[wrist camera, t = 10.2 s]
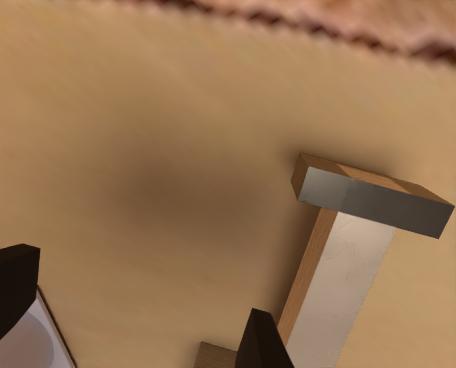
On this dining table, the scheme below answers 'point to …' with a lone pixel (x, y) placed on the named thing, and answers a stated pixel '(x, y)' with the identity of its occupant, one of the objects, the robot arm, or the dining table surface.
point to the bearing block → (215, 357)
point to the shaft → (346, 250)
